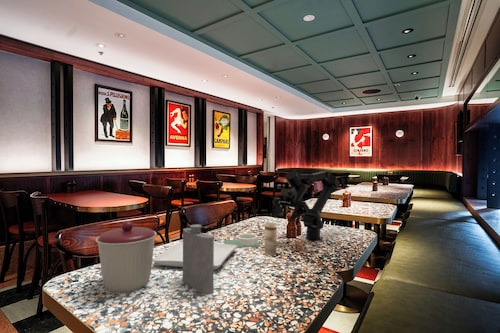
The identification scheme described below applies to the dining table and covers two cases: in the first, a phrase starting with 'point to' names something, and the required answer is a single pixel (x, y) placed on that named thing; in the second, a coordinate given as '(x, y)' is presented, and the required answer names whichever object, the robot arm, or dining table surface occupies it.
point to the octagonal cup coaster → (244, 241)
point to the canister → (126, 257)
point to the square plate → (176, 255)
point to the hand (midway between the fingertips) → (281, 219)
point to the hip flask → (198, 259)
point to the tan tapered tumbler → (270, 238)
